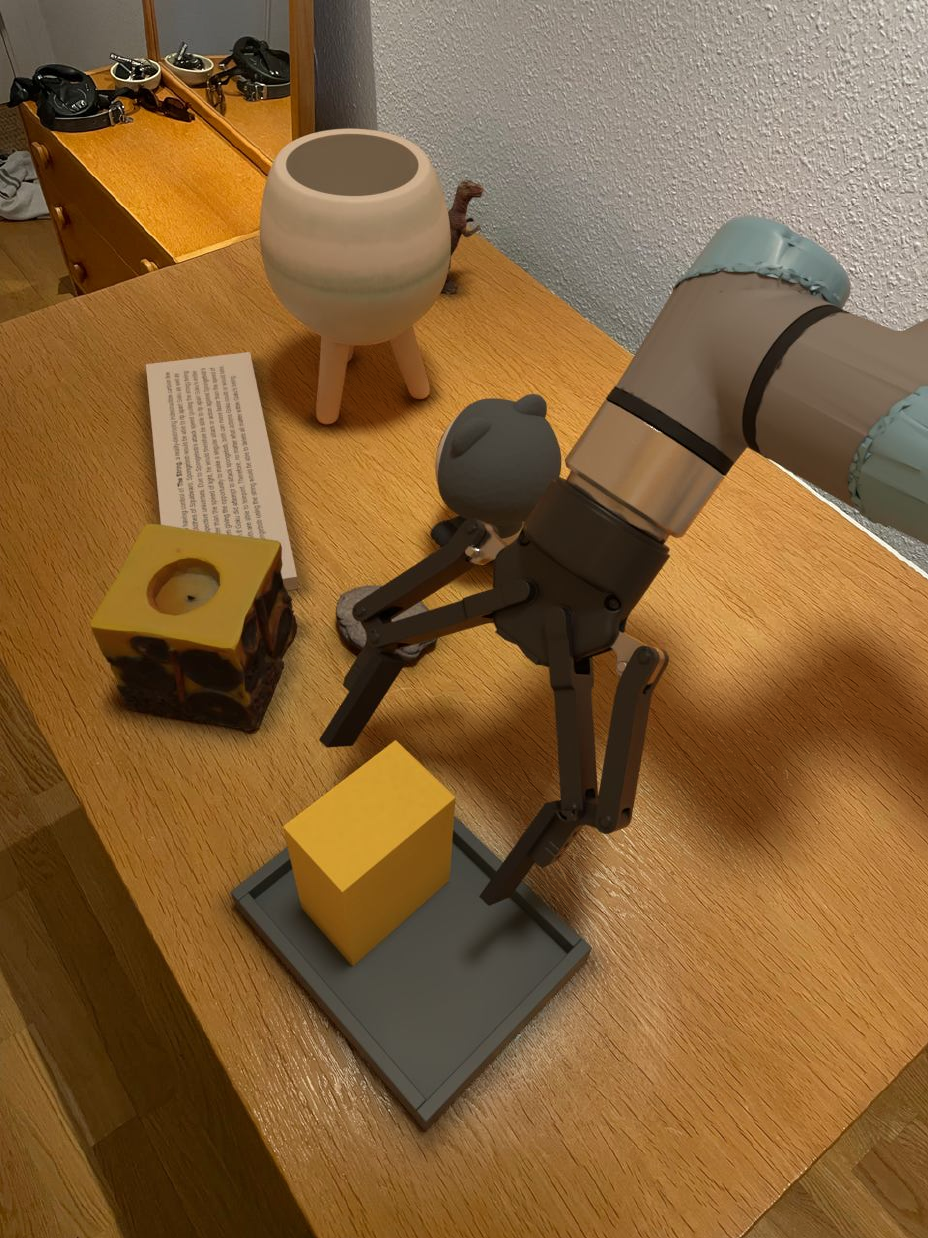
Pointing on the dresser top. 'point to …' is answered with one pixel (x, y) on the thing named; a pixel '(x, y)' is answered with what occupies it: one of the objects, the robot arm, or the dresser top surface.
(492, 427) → the toy
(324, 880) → the yellow block
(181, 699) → the candle
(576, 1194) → the dresser top surface
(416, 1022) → the tray
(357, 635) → the stone
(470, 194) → the dinosaur model
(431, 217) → the planter
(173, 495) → the plaque
